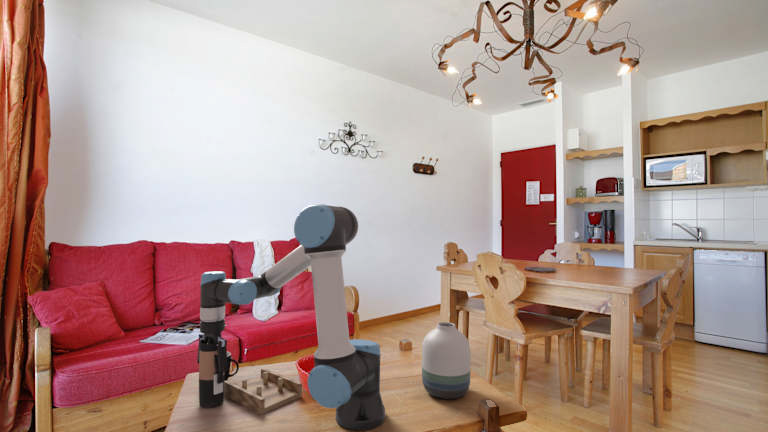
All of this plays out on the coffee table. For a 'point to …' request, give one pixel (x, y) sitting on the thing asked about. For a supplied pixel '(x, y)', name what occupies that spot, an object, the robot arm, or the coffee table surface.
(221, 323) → the robot arm
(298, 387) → the peg stand
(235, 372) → the mug
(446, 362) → the vase
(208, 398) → the travel mug
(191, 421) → the coffee table surface
